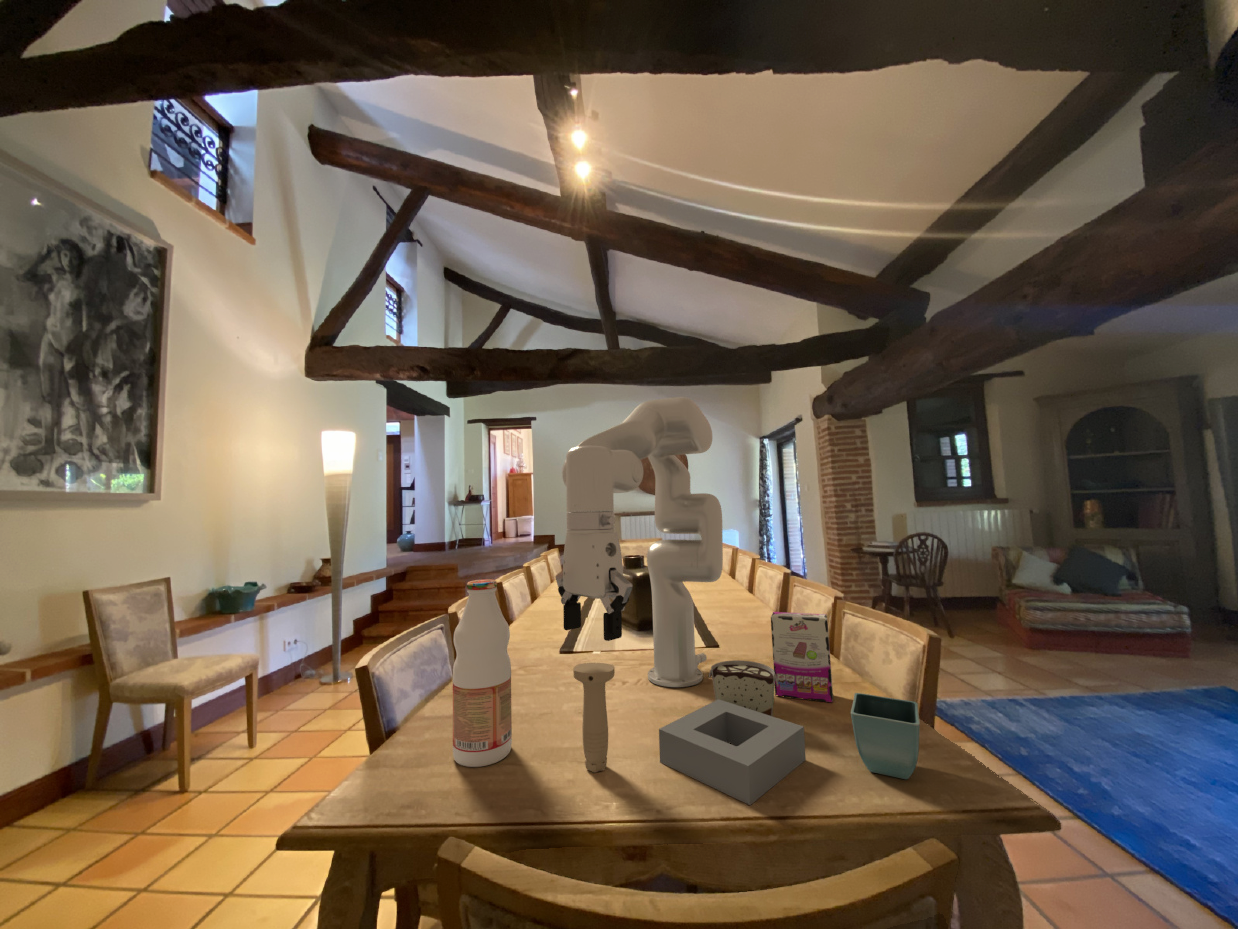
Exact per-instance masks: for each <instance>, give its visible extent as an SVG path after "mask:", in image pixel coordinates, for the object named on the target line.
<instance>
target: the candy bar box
mask: <svg viewBox="0 0 1238 929" xmlns="http://www.w3.org/2000/svg"><path fill="white" fill-rule="evenodd" d="M770 626H771V629H770V630H771V644H772V662H773V670H774V672H775V674H776V677H777V681H778V686H777V684H776V681H775V683H774V696H776V695H778V696H784V697H783V698H786V697H791V698H790V699H795V698H803V699H802V700H804V699H811V700H810V701H814V700H817V701H816V702H824V701H826V702H825V703H833V702H834V696H833V694H834V693H833V676H832V664H831V662H832V661H831V650H830V636H829V635H830V634H829V623H828V615H827V614H825V613H809V612H807V613H805V612H787V611H785V612H784V611H782V612H781V611H773V612H772V614H771V616H770Z"/></svg>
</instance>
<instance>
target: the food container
mask: <svg viewBox="0 0 1238 929" xmlns="http://www.w3.org/2000/svg"><path fill="white" fill-rule="evenodd" d="M708 678H709V679H710V678H711V679H712V684H713V693H714V701H716V700H718V699H719V700H723V701H726V702H729V703H732V704H735V705H738V706H741V707H744V708H748V709H751V710H754V711H757V712H760V713H763V714H766V715H769V716H772V717H774V713H773V712H774V699H775V698H774V696H775V681H776V684H777V686H778V681H777V677H776V674H775V672H774V668H772V667H771V666H768V665H767V664H764V663H761V662H758V661H757V662H755V661H751V660H742V659H741V660H739V659H738V660H725V661H724V660H723V661H719V662H717V663H715V664H713V665H711V667H710V669H709V674H708Z"/></svg>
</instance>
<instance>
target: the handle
mask: <svg viewBox="0 0 1238 929" xmlns="http://www.w3.org/2000/svg"><path fill="white" fill-rule="evenodd" d="M572 670H573V674H572V675H573V677H574V678H573V679H575V680H577V682H580V683H581V684H582V685H583V688H582V689H583V700H582V701H583V702H582V703H583V705H582V709H583V710H582V727H581V728H582V746H583V755H584V759H585V760H584V765H585V769H586V770H587V771H590V772H592V773H598V772H602V771H605V769H606V766H607V762H608V757H607V756H608V751H609V750H608V749H609V723H608V712H607V699H606V698H607V697H606V683H607V682H610V681H611V680H612V679H613V678H614V677H615V665H613V664H611V663H606V662H585V663H579V664H576V665H574V666H573V669H572Z"/></svg>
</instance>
